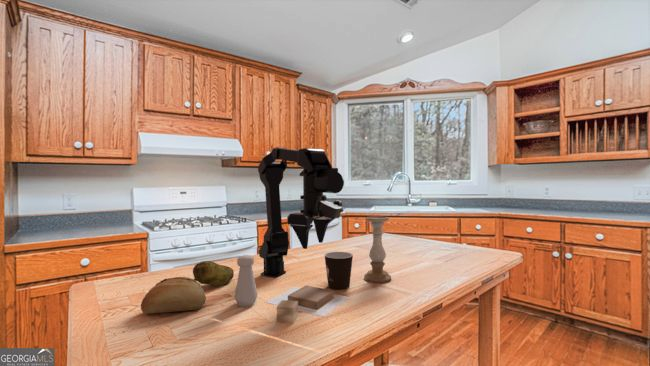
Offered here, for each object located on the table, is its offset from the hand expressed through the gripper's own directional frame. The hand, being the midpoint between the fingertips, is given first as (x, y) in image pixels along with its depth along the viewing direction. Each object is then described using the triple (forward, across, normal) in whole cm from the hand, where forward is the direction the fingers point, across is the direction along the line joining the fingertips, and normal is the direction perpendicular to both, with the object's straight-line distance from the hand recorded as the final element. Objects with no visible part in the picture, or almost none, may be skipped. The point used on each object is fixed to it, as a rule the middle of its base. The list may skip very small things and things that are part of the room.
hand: (313, 245), depth 91 cm
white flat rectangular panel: (+14, -6, -2) cm, 15 cm away
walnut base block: (+13, -6, -3) cm, 15 cm away
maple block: (+14, -18, -3) cm, 23 cm away
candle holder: (+14, +20, -13) cm, 28 cm away
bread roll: (+14, -26, +26) cm, 39 cm away
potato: (+14, -8, +31) cm, 35 cm away
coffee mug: (+14, +9, -4) cm, 17 cm away
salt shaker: (+14, -16, +12) cm, 24 cm away
